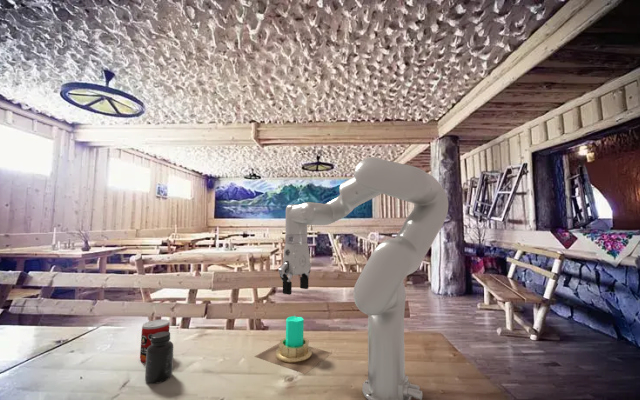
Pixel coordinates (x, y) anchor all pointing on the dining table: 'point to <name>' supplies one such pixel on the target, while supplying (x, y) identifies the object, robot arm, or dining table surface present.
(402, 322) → the robot arm
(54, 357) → the dining table surface
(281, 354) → the candle holder
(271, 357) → the walnut board
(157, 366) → the supplement bottle
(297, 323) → the candle
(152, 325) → the canned food
